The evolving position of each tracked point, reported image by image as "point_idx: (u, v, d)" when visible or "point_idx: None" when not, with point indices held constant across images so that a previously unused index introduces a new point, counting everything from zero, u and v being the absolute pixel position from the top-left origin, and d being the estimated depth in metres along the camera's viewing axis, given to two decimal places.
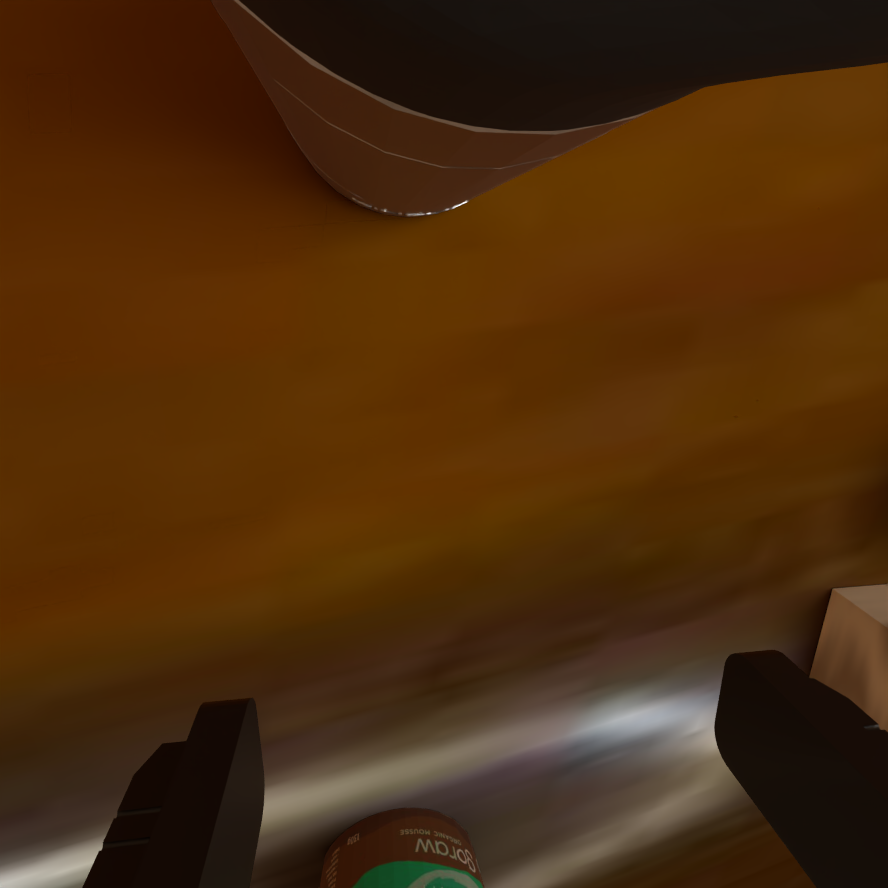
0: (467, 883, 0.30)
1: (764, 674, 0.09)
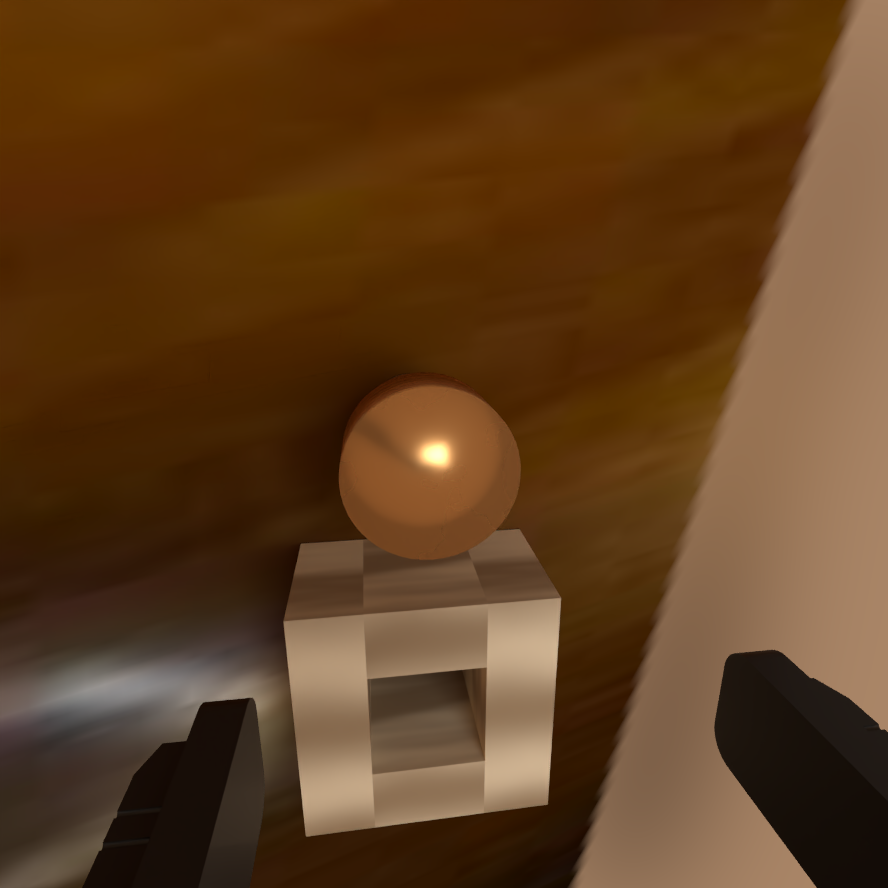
0: None
1: (764, 674, 0.09)
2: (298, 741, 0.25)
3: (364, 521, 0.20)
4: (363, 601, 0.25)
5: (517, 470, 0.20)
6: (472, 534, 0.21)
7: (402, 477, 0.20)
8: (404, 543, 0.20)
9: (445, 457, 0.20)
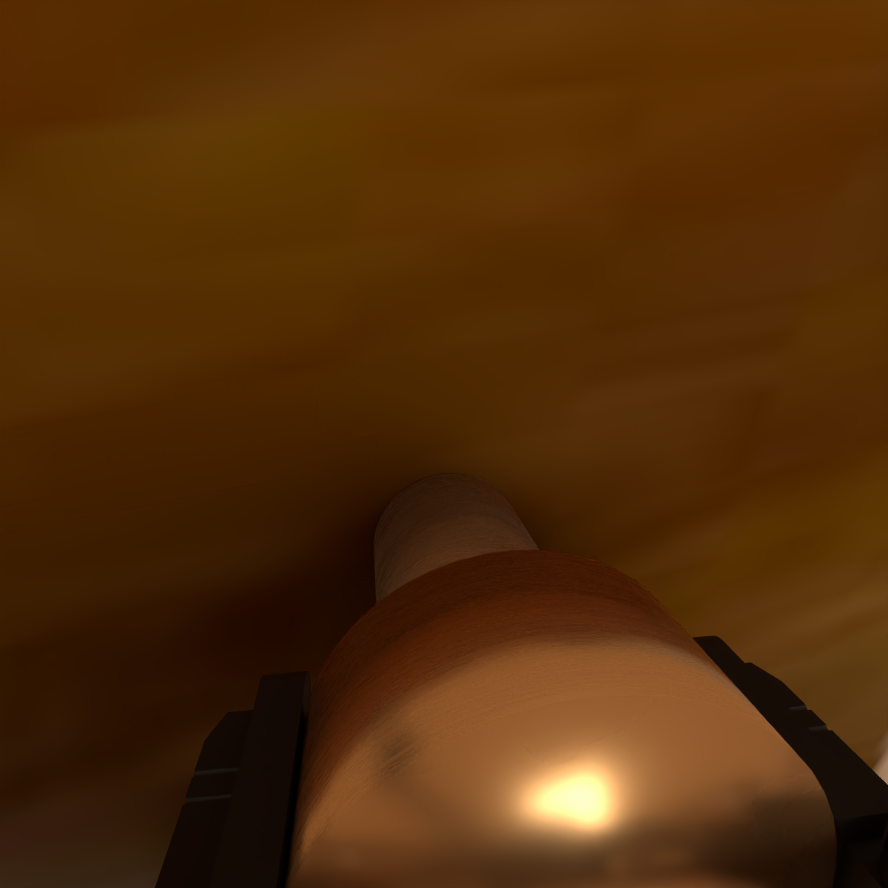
0: None
1: None
2: None
3: None
4: None
5: None
6: None
7: None
8: None
9: (619, 880, 0.06)
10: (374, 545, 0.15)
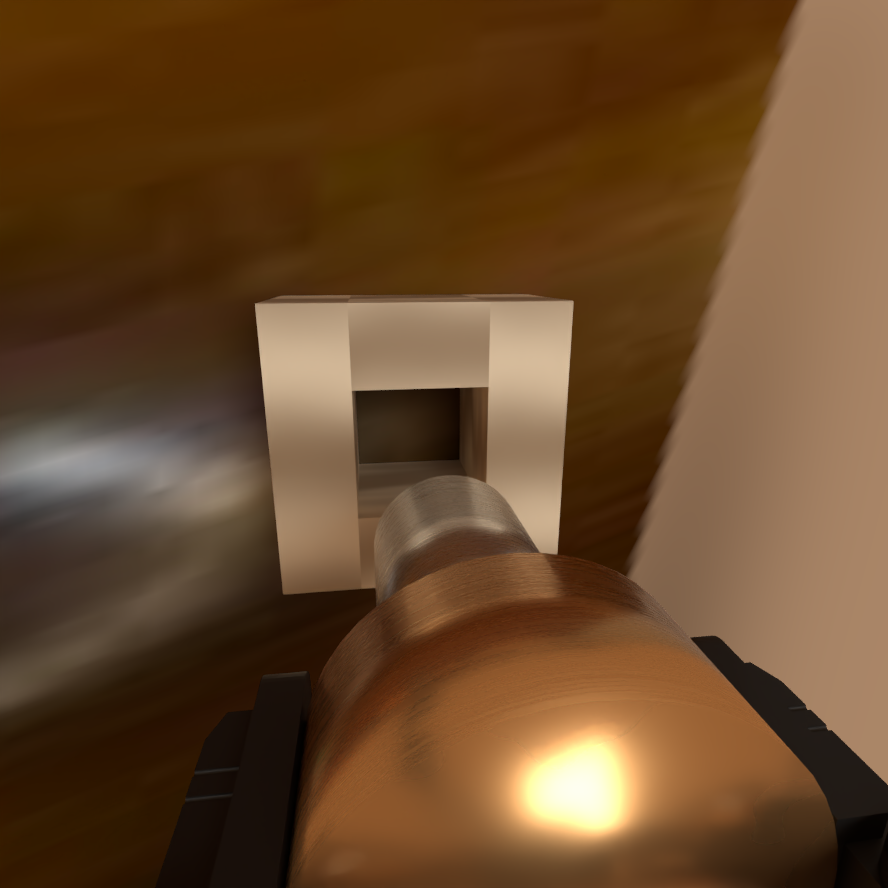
0: None
1: None
2: (273, 467, 0.22)
3: None
4: (348, 301, 0.22)
5: None
6: None
7: None
8: None
9: (619, 885, 0.06)
10: (374, 547, 0.15)
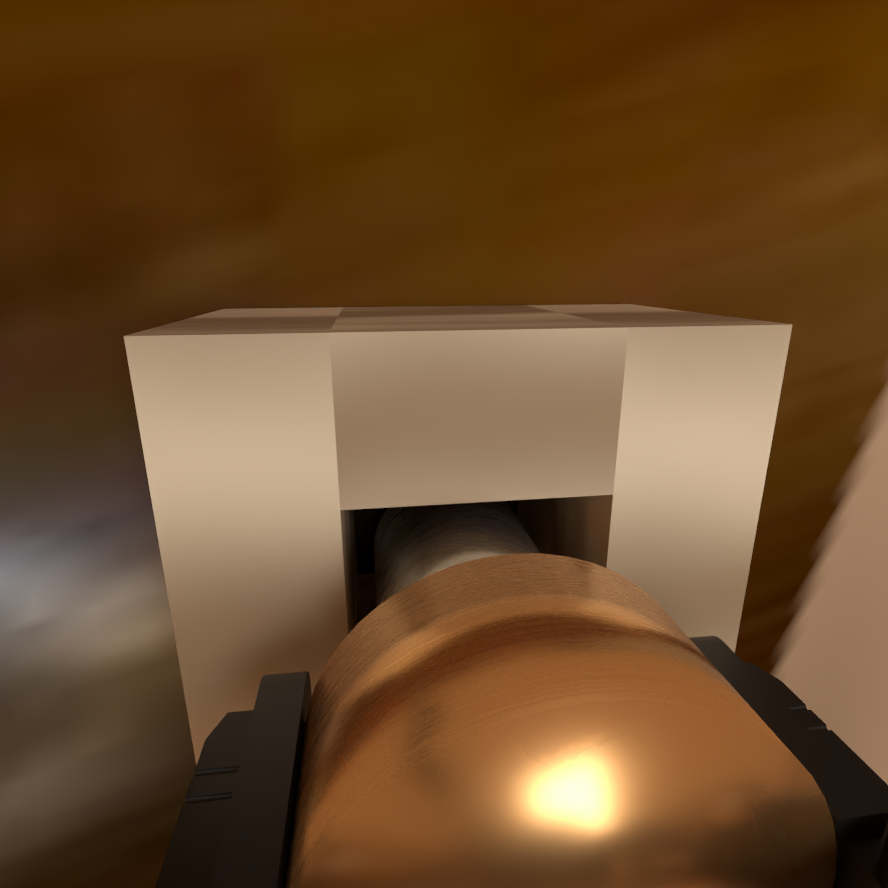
0: None
1: None
2: (184, 659, 0.11)
3: None
4: (332, 327, 0.11)
5: None
6: None
7: None
8: None
9: (618, 884, 0.06)
10: (374, 547, 0.15)
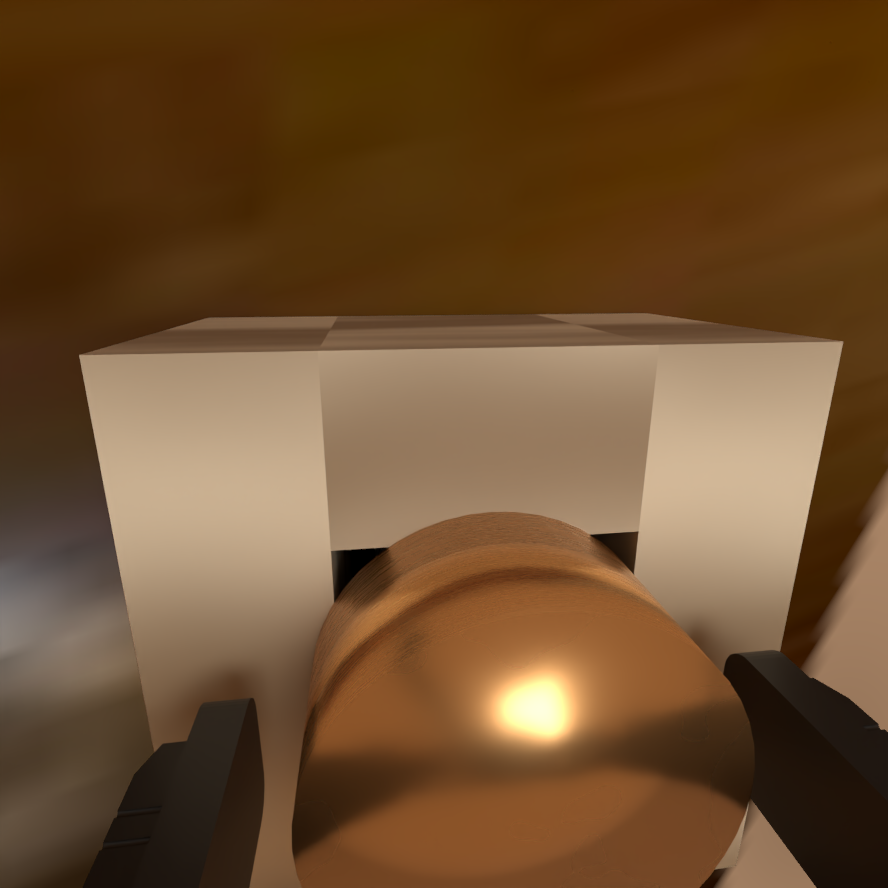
0: None
1: (764, 674, 0.09)
2: (154, 717, 0.10)
3: None
4: (322, 343, 0.09)
5: (745, 786, 0.08)
6: None
7: (460, 823, 0.07)
8: None
9: (572, 772, 0.07)
10: None
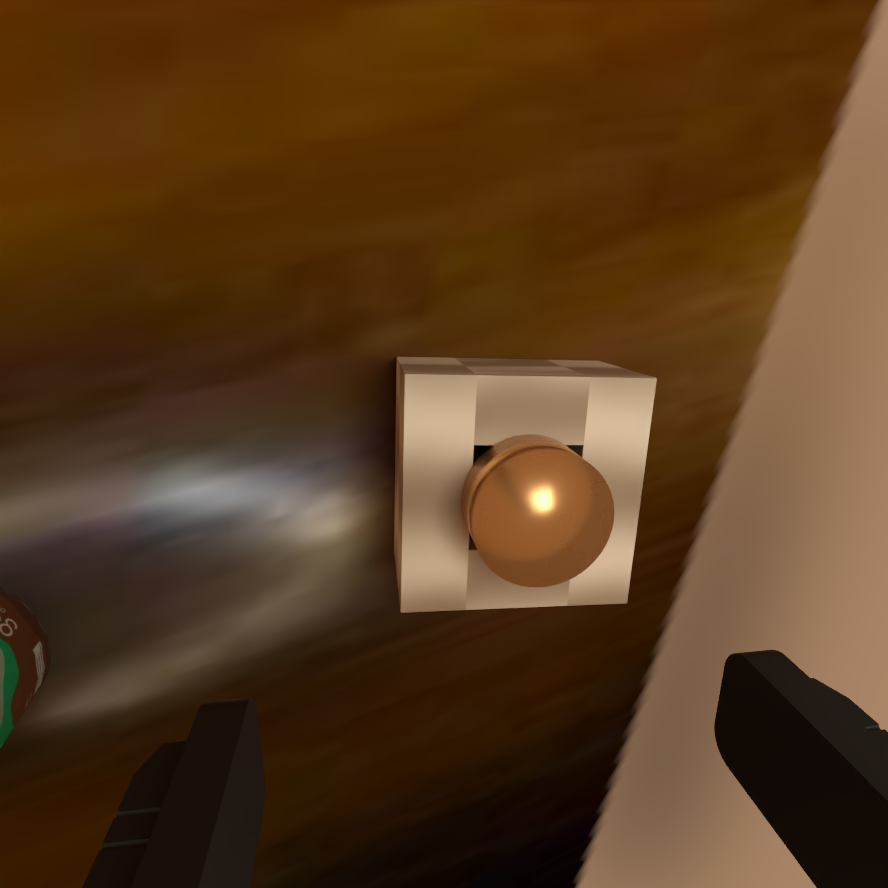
0: None
1: (764, 674, 0.09)
2: (404, 505, 0.27)
3: (488, 554, 0.25)
4: (473, 372, 0.27)
5: (611, 518, 0.25)
6: (571, 568, 0.25)
7: (522, 520, 0.24)
8: (517, 573, 0.25)
9: (556, 505, 0.24)
10: None
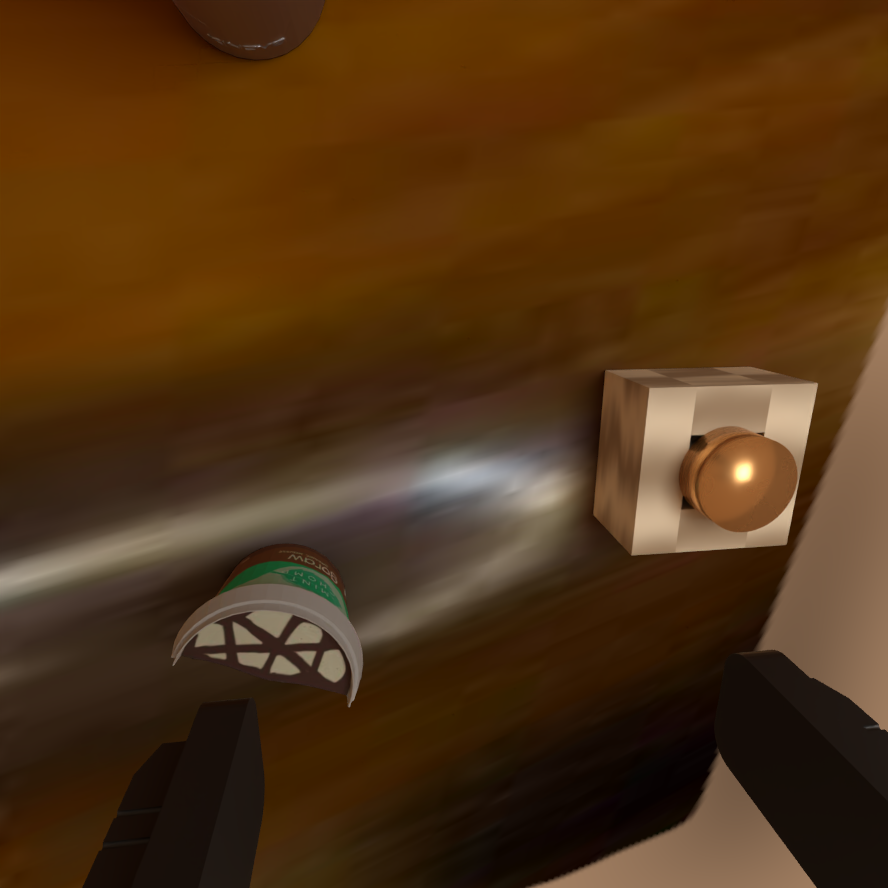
0: (325, 580, 0.41)
1: (764, 674, 0.09)
2: (641, 479, 0.38)
3: (713, 510, 0.36)
4: (688, 383, 0.38)
5: (795, 482, 0.36)
6: (766, 518, 0.37)
7: (736, 486, 0.36)
8: (730, 523, 0.36)
9: (760, 475, 0.36)
10: None
